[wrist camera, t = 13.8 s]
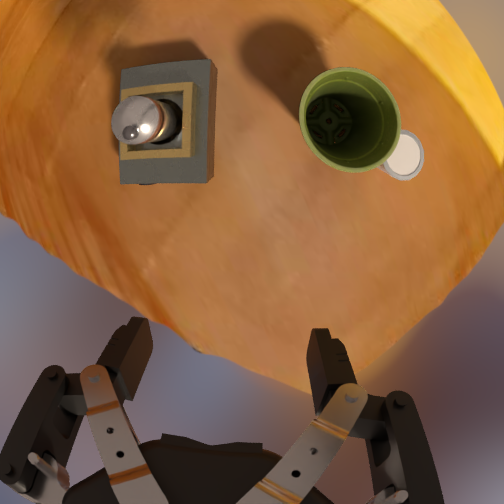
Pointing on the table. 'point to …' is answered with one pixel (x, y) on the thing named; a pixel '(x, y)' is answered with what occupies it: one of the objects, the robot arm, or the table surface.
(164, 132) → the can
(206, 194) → the table surface
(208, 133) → the grey block with socket
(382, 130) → the plant pot
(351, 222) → the table surface
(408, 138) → the white cylinder
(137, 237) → the table surface
